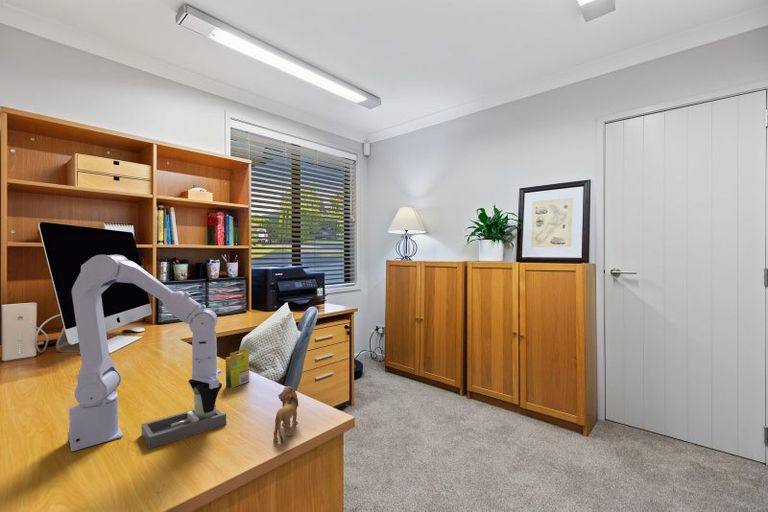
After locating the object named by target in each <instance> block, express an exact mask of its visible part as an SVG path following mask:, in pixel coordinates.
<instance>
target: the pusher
mask: <svg viewBox="0 0 768 512" xmlns="http://www.w3.org/2000/svg"><path fill="white" fill-rule="evenodd" d="M188 411H189V412H187V411H186V412H187V419H186V420H182V421H179V422H175V423H172V424H170V427H171V428H173V427H177V426H180V425H183V424H187V423H193V422H196V421H199V418H198V417H197V416H196V415H195V414H194V413H193V412H192V411H191V410H188Z"/></svg>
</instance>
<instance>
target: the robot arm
mask: <svg viewBox="0 0 768 512" xmlns="http://www.w3.org/2000/svg"><path fill="white" fill-rule="evenodd" d="M114 283H126V284H134V285H136V286H137V287H139V288H141V289H142V290H144V291H145V292H147V293H148V294H150V295H151V296H154V298H157V299H158V300H160V301H161V302H162V303H163V308H164V310H165V311H167V313H169V314H171V315H173V316H174V317H175V318H177V319H179V320H180V321H181V322H183V323H185V324H187V325H188V326H189V327H188V328H189V330H190V331H191V332H192V340H191V350H192V351H191V352H192V353H191V354H192V355H191V358H192V359H191V362H192V363H191V365H192V366H191V367H192V368H191V378H190V379H188V381H187V382H188V383H189V385H190V387H191V389H192V391H193V393H194V387H196V386H197V387H196V388H197V390H198V391H199V394H200V396H201V400H202V406H203V411H204V413H208V412H211V411H213V410H214V406H215V405H216V401H217V398H218V395H219V393H220V391H221V389H222V386H223V384H222V383H221V382H220V379H219V378H218V376H219V375H221V374H222V372H223V371H222V369H220V368H218V366H217V365H218V364H217V363H218V358H217V357H218V354H217V353H218V352H217V351H218V348H217V347H218V346H217V345H218V344H217V329H216V325H217V323H218V316H217V314H216V312H215V311H214V310H213V309H212V308H210V307H209V308H208V307H207V306H206V305H205V304H204V303H203V304H200V303H199V302H198V301H196V300H195V299H193V298H192V297H190V296H191V293H189V292H188V291H186V292H184V291H182V290H177V291H173V290H172V289H170V288H169V287H168V286H166V285H165V284H164V283H162V282H161V281H160V280H159V279H157V278H156V277H155V276H153V275H152V274H150V273H149V272H148V271H147V270H145V269H144V268H142V266H140V265H139V264H137V263H136V262H134V261H132V260H129V259H128V258H127V257H126V256H124V255H121V254H110V255H109V254H107V255H106V254H97V255H95V256H94V255H93V256H92V257H91V258H90V259H88V260H87V261H85V262H84V263H83V264H82V265H81V266H80V272H79V274H78V276H77V278H76V280H75V282H74V284H73V285H72V288H71V297H72V304H73V310H74V316H75V317H74V318H75V323H76V326H75V327H76V332H77V339H78V345H79V352H80V354H79V355H80V359H81V367H80V369H79V371H78V373H77V385H76V387H75V390H74V398H75V400H76V402H77V403H78V404H77V405H73V406H70V407H68V432H67V440H68V441H69V447H70V452H74V451H79V450H81V449H85V448H90V447H92V446H96V445H99V444H102V443H106V442H111V441H113V440H117V439H120V438H122V437H124V434H123V432H122V430H121V428H120V426H119V394H118V392H117V388H118V387H119V386H120V384H121V383H122V375H121V373H120V371H119V370H118V369H117V367H116V364H115V361H114V360H113V358H111V357H110V351H109V344H108V336H107V329H106V322H105V315H104V307H103V300H102V294H103V293H104V292H105V291H106V290H107V289H109V287H110V286H111V285H112V284H114ZM201 384H205V385H201ZM198 385H201V386H198Z"/></svg>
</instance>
